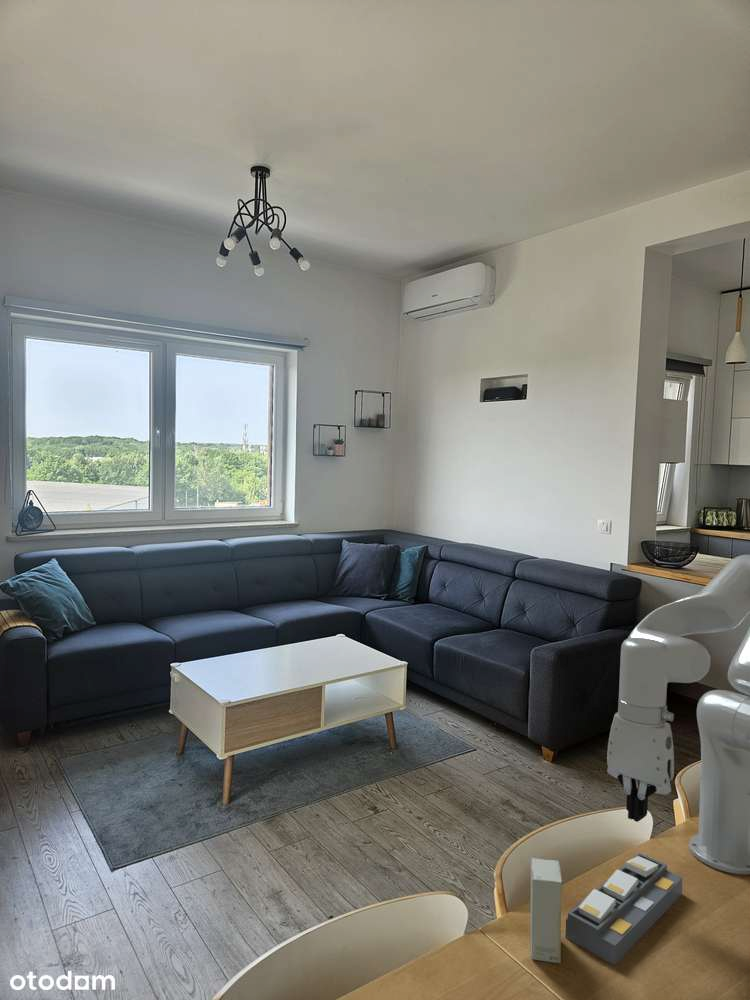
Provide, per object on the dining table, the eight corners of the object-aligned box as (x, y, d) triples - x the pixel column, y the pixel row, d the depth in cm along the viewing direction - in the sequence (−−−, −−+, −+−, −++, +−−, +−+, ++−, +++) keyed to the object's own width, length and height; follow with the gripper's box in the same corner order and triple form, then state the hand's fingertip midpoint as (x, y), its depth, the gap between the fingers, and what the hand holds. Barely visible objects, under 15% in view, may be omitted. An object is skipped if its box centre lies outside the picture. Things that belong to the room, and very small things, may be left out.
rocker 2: (617, 874, 111) (617, 868, 111) (638, 884, 108) (637, 878, 108) (603, 891, 108) (603, 885, 107) (624, 901, 105) (624, 895, 105)
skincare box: (560, 965, 96) (563, 884, 95) (530, 960, 96) (532, 879, 96) (557, 936, 102) (559, 859, 101) (528, 931, 103) (530, 856, 102)
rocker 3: (637, 861, 116) (638, 855, 117) (657, 870, 114) (658, 864, 114) (625, 867, 113) (625, 861, 113) (645, 877, 110) (646, 870, 111)
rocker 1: (594, 894, 106) (594, 888, 105) (615, 904, 103) (615, 898, 103) (578, 912, 102) (578, 906, 102) (600, 924, 100) (600, 918, 99)
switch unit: (636, 873, 119) (637, 852, 119) (681, 894, 113) (682, 871, 113) (565, 937, 101) (566, 912, 101) (614, 965, 96) (615, 938, 96)
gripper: (695, 719, 109) (690, 828, 109) (610, 696, 119) (605, 795, 120) (677, 729, 103) (671, 843, 104) (590, 704, 114) (585, 807, 114)
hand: (636, 817), depth 112 cm, fingers closed
